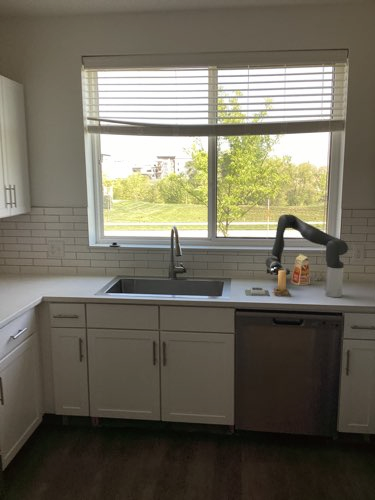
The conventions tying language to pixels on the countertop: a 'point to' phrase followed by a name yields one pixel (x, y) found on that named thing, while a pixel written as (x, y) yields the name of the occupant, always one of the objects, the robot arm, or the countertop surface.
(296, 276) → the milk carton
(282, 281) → the peg
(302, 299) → the countertop surface
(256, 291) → the hub
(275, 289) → the holder
